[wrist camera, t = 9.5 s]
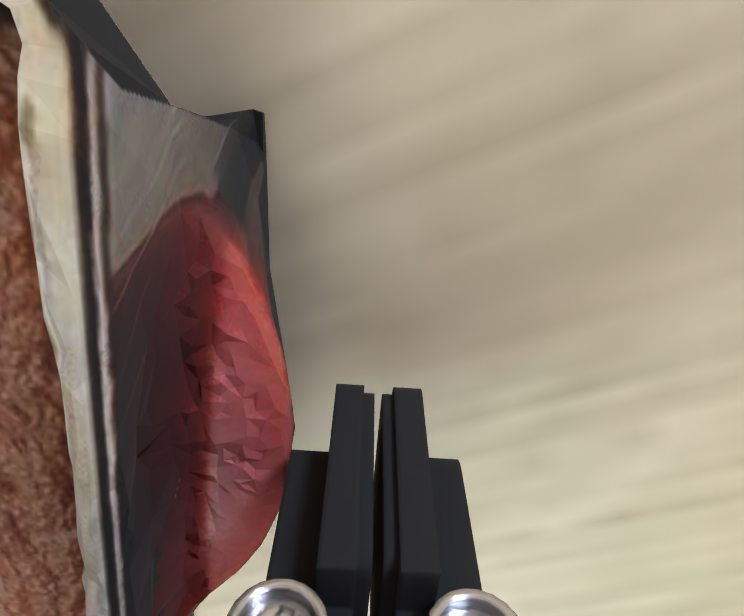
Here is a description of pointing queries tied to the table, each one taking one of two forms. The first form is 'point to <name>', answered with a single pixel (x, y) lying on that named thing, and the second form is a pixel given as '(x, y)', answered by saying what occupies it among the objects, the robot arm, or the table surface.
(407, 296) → the table surface
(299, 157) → the table surface
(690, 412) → the table surface
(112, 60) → the baking dish
